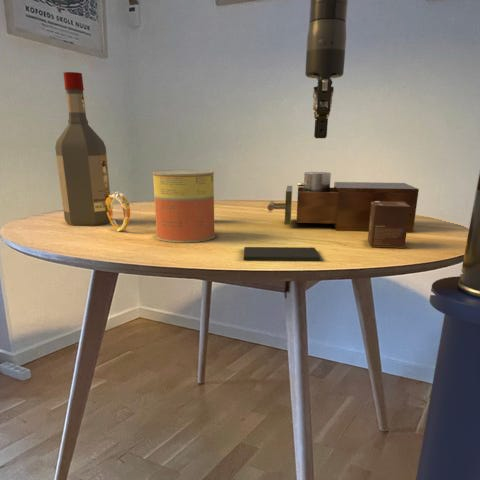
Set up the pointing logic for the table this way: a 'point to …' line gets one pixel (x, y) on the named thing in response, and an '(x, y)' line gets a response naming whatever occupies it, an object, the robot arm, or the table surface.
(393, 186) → the cabinet
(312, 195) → the drawer
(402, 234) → the box
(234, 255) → the table surface
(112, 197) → the ring
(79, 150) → the liquor
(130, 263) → the table surface
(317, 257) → the trivet
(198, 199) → the canned food
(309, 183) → the measuring cup
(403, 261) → the table surface
